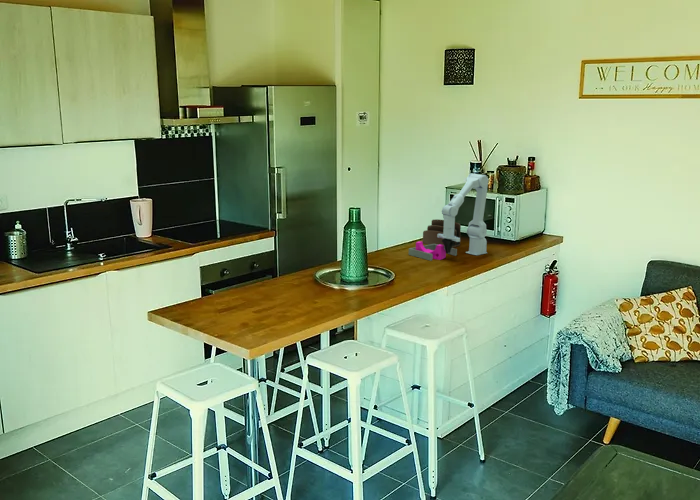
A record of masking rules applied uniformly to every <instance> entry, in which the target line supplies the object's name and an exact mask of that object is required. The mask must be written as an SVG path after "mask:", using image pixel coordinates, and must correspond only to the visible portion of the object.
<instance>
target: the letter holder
mask: <svg viewBox="0 0 700 500" xmlns="http://www.w3.org/2000/svg"><path fill="white" fill-rule="evenodd" d="M461 227H462V226H461V223H459V222H456V221H455V227H454V236H456V237H458V238H460V239H461ZM443 229H444V219H432V220H431V225H430V224H429V225H427V228H426V230H423V232H422V242H423V245H430V244H438V245H439V244H441V245H444V244H443V242H442V240H443V239H444V238H438V237H437V234H443ZM457 247H461V241H460V242H456V241H455V242H454V244H453V245H452V248H454V249H455V248H457Z"/></svg>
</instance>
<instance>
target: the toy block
mask: <svg viewBox="0 0 700 500" xmlns="http://www.w3.org/2000/svg"><path fill="white" fill-rule="evenodd" d="M424 246H425V245H424V244H423V241H422V240H421V241H420V240H419V241H416V242H415V247H416V250H419V251H423V252H426V253H430V254H433V259H434V260H439V261H441V260H443V259H445V258H446V256H447V253H446V251H445V249H444V245H441V244H439V245H436V248H435V250H430V249H425V247H424ZM433 259H432V260H433Z"/></svg>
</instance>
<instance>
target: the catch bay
mask: <svg viewBox="0 0 700 500" xmlns="http://www.w3.org/2000/svg"><path fill="white" fill-rule="evenodd" d="M436 245H438V244H430V245H429V244H424V245H423V246H424V247H425V249H430V250H433V251H434V250H435V248H436ZM444 249H445V247H444ZM408 255H409V256H412V257H416V258H419V259H422V260H423V259H424V260H427V261H430V262H432V261H433V254H430V253H426V252H423V251H419V250H416V246H415V247H410V248H408ZM446 255H452V256H455V257H456V256H457V255H458V249H457V248H455V247H454V248H451V251H450V253H446Z"/></svg>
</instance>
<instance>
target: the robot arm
mask: <svg viewBox="0 0 700 500" xmlns="http://www.w3.org/2000/svg"><path fill="white" fill-rule="evenodd" d="M489 180H490V179H489V178H488V176H487V175H486V174H479V173H474V172H472V173H469V174H468V175H467V177H466V178H465V181H466V182H465V183H464V185H463V186H462V187H461V190H460V191H459V193H456V194H454V195H453V197H452V198H451V199H450V200H449V202H448V204H445V205H444V206H443V207H442V209H441V214H442V217H443V220H444V229H443V234H437V237H438V238H444V239H443V240H442V242H443V244H444V247H445V251H446V254H447V253H450V251H451V248H452V245H453V244H454V242H455V241H456V242H460V243H461V237H460V238H458V237H456V236H454V227H455V222H456V216H457V215H458V213H459V209H460V207H461V206H462V205H463V203H464V201H465V198H466V196H467V194H468V195H469V193H470V192H471V190H472V189H475V191H476V194H475V201H474V209H473V216H472V220H471V221H469V222H468V226H467V228H466V234H467V235H468V237H469V245H468V246H469V247H468V251H465V253H466V254H468V255H473V256H481V255H484V254H488V252H487V243H488V241H487V239H486V238H485V237H486V235H487V224H486V223H485V221H484V214H485V208H486V202H487V201H486V200H487V194H488V185H489Z"/></svg>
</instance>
